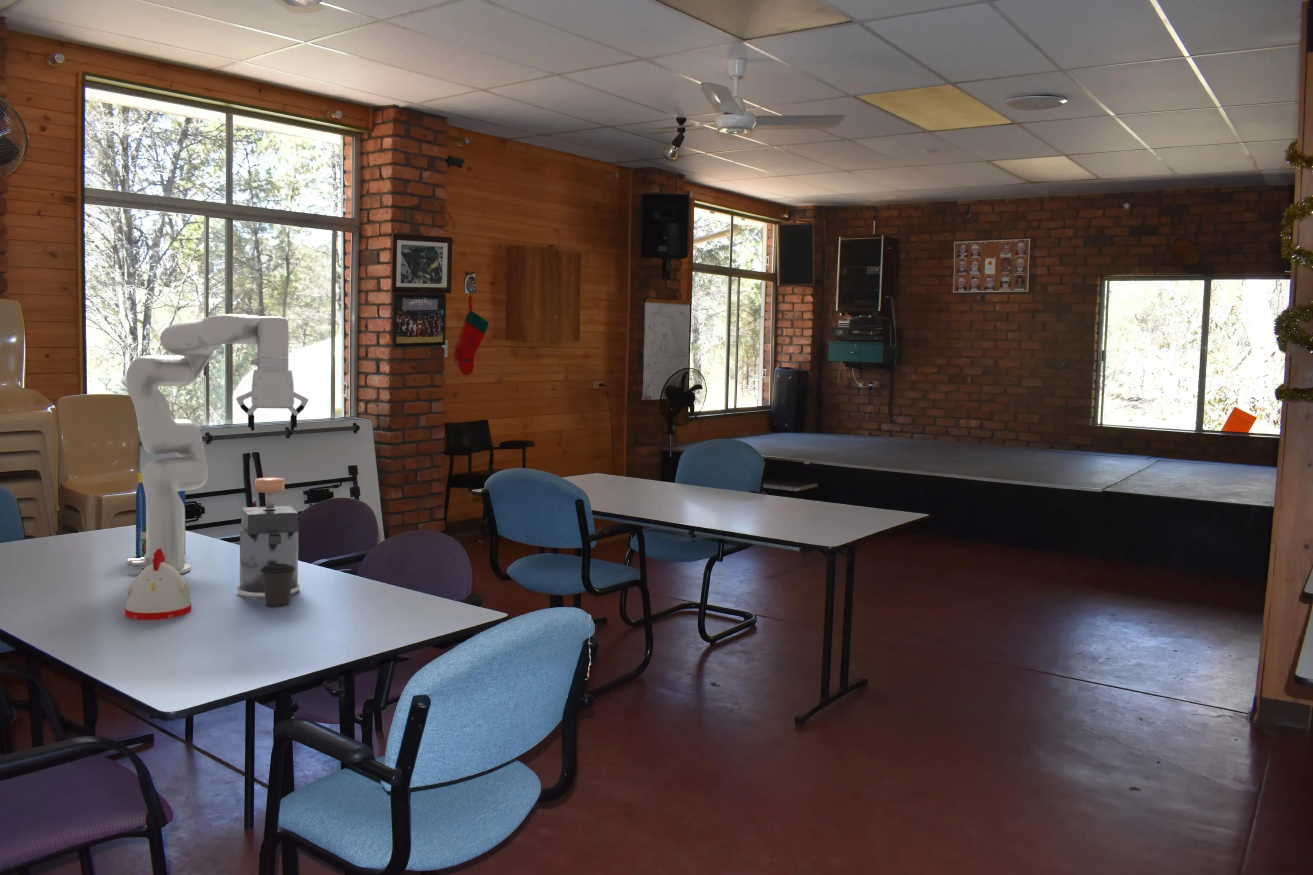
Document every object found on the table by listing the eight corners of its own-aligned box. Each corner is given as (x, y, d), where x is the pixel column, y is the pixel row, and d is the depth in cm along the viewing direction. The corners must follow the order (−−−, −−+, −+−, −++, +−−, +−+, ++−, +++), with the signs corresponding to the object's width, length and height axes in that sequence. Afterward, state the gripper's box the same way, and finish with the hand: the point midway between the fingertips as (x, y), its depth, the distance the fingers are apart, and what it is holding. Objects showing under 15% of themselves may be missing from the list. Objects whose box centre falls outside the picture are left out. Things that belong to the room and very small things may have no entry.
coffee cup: (282, 610, 232) (283, 569, 231) (253, 607, 234) (253, 566, 233) (301, 602, 240) (302, 562, 239) (272, 599, 242) (273, 560, 241)
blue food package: (135, 556, 285) (135, 472, 283) (178, 551, 293) (179, 470, 291) (141, 559, 280) (141, 474, 278) (185, 555, 289) (185, 473, 287)
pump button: (257, 510, 242) (257, 481, 242) (253, 506, 249) (253, 477, 248) (286, 509, 246) (286, 480, 245) (281, 505, 252) (282, 477, 251)
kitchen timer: (117, 620, 218) (117, 555, 217) (133, 605, 231) (133, 544, 230) (184, 618, 222) (185, 554, 220) (196, 604, 235) (196, 543, 234)
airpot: (243, 604, 236) (243, 517, 234) (233, 588, 252) (234, 506, 250) (306, 598, 244) (307, 515, 242) (294, 583, 259) (295, 504, 258)
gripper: (236, 363, 241) (236, 431, 242) (309, 365, 248) (309, 431, 249) (236, 363, 248) (236, 429, 249) (307, 365, 255) (306, 429, 256)
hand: (272, 430), depth 249 cm, fingers open, 9 cm apart
